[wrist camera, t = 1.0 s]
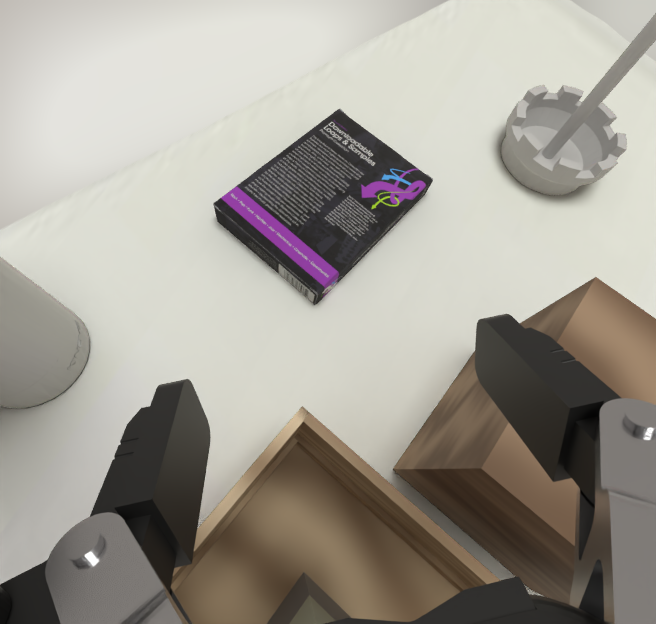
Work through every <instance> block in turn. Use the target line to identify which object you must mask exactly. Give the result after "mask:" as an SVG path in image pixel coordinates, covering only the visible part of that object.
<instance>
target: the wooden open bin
mask: <svg viewBox="0 0 656 624" xmlns="http://www.w3.org/2000/svg"><path fill="white" fill-rule="evenodd" d="M303 572H305V573H306V574H307V575H308V576H309V577H310V578H311V579H312V580H313V581H314V582H315V583H316V584H317V585H318V586H319V587H320V588H321V589H322V590H323V591H324V592H325V593H326V594H327V595H328V596H329V597H331V598H332V599H333V600H334V601H335V602H336V603H337V604H338V605H339V606H340V607H341V608H342V609H343V610H344V611H345V612H346V613H347V614H348V615H349V616H350V617H351V618H358V619H372V620H386V621H400V622H410V621H414V620H416V619H418V618H420V617H421V616H423V615H425V614H426V613H428V612H429V611H431V610H433V609H434V608H436V607H437V606H439V605H441V604H442V603H444V602H445V601H447V600H449V599H450V598H452V597H453V596H455V595H457V594H458V593H460V592H461V591H463V590H465V589H469V588H473V587H477V586H481V585H486V584H490V583H494V582H498V581H500V580H499V579H498V578H497V577H496V576H495V575H494V574H492V573H491V572H490V571H489V570H488V569H487V568H486V567H484V566H483V565H482V564H481V563H480V562H479V561H478V560H477V559H475V558H474V557H473V556H472V555H471V554H470V553H469V552H467V551H466V550H465V549H464V548H463V547H462V546H461V545H459V544H458V543H457V542H456V541H455V540H454V539H453V538H451V537H450V536H449V535H448V534H447V533H446V532H445V531H444V530H442V529H441V528H440V527H439V526H438V525H437V524H436V523H434V522H433V521H432V520H431V519H430V518H429V517H428V516H426V515H425V514H424V513H423V512H422V511H421V510H420V509H418V508H417V507H416V506H415V505H414V504H413V503H412V502H411V501H409V500H408V499H407V498H406V497H405V496H404V495H403V494H401V493H400V492H399V491H398V490H397V489H396V488H395V487H393V486H392V485H391V484H390V483H389V482H388V481H387V480H386V479H384V478H383V477H382V476H381V475H380V474H379V473H378V472H376V471H375V470H374V469H373V468H372V467H371V466H370V465H368V464H367V463H366V462H365V461H364V460H363V459H362V458H360V457H359V456H358V455H357V454H356V453H355V452H354V451H353V450H351V449H350V448H349V447H348V446H347V445H346V444H345V443H343V442H342V441H341V440H340V439H339V438H338V437H337V436H335V435H334V434H333V433H332V432H331V431H330V430H329V429H327V428H326V427H325V426H324V425H323V424H322V423H321V422H320V421H318V420H317V419H316V418H315V417H314V416H313V415H312V414H310V413H309V412H308V411H307V410H306V409H305V408H304V407H301V408H300V409H299V411H298V412H297V413H296V414H295V415H294V417H293V418H292V419H291V420H290V421H289V422H288V424H287V425H286V426H285V427H284V428H283V429H282V431H281V432H280V433H279V434H278V435H277V436H276V438H275V439H274V440H273V441H272V442H271V443H270V445H269V446H268V447H267V448H266V449H265V451H264V452H263V453H262V454H261V455H260V456H259V458H258V459H257V460H256V461H255V462H254V463H253V465H252V466H251V467H250V468H249V469H248V470H247V472H246V473H245V474H244V475H243V476H242V478H241V479H240V480H239V481H238V482H237V483H236V485H235V486H234V487H233V488H232V489H231V490H230V492H229V493H228V494H227V495H226V496H225V497H224V499H223V500H222V501H221V502H220V503H219V505H218V506H217V507H216V508H215V509H214V510H213V512H212V513H211V514H210V515H209V516H208V517H207V519H206V520H205V521H204V522H203V523H202V524H201V526H200V527H199V528H198V529H197V533H196V540H195V546H194V553H193V560H192V564H190V565H185V566H181V567H177V568H174V572H173V578H172V583H171V588H172V589H173V591H174V592H175V594H176V596H177V597H178V599H179V601H180V602H181V604H182V606H183V607H184V609H185V610H186V612H187V614H188V615H189V617H190V619H191V620H192V622H193V624H267V623H268V621H269V620H270V618H271V617H272V616H273V614H274V613H275V611H276V610H277V609H278V607H279V606H280V604H281V603H282V602H283V600H284V599H285V597H286V596H287V595H288V593H289V592H290V590H291V589H292V588H293V586H294V585H295V583H296V582H297V580H298V579H299V578H300V576H301V575H302V573H303Z"/></svg>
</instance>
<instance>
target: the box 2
mask: <svg viewBox="0 0 656 624" xmlns="http://www.w3.org/2000/svg"><path fill="white" fill-rule="evenodd" d="M345 618H351V617H350V616H349V615H348V614H347V613H346V612H345V611H344V610H343V609H342V608H341V607H340V606H339V605H338V604H337V603H336V602H335V601H334V600H333V599H332V598H331V597H329V596H328V595H327V594H326V593H325V592H324V591H323V590H322V589H321V588H320V587H319V586H318V585H317V584H316V583H315V582H314V581H313V580H312V579H311V578H310V577H309V576H308V575H307V574H306V573H305V572H303V573H302V575H301V576H300V578H299V579H298V580H297V582H296V583H295V585H294V586H293V588H292V589H291V590H290V592H289V593H288V595H287V596H286V597H285V599H284V600H283V602H282V603H281V604H280V606H279V607H278V609H277V610H276V611H275V613H274V614H273V616H272V617H271V618H270V620H269V621H268V623H267V624H325V623H329V622H333V621H337V620H341V619H345Z"/></svg>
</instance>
